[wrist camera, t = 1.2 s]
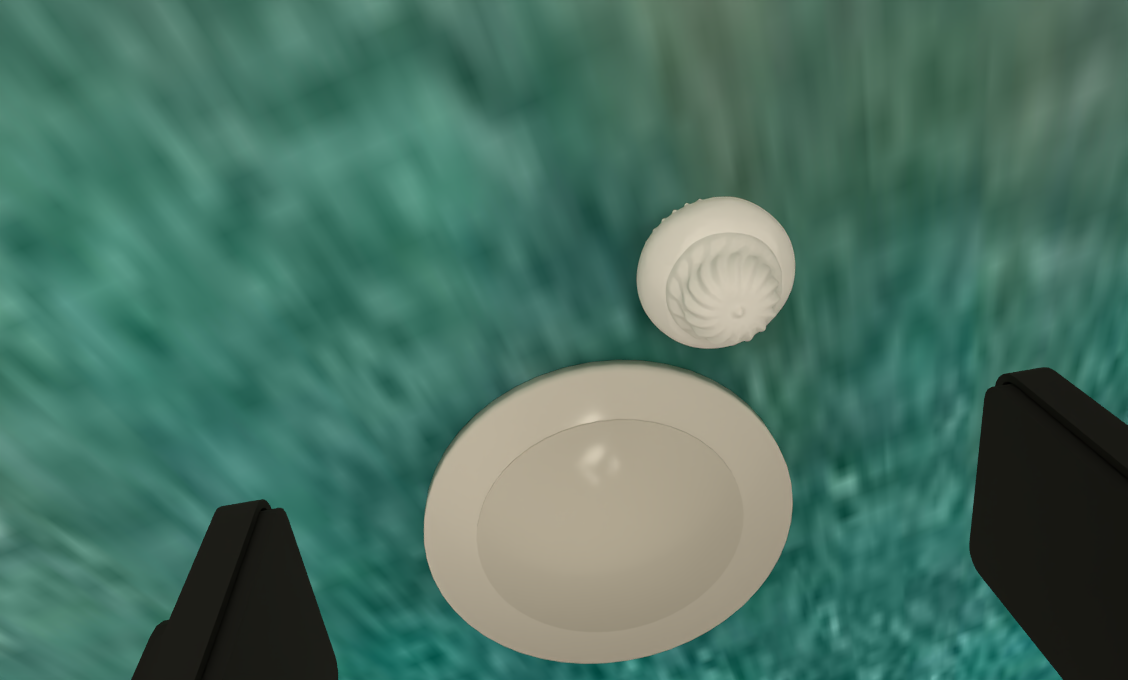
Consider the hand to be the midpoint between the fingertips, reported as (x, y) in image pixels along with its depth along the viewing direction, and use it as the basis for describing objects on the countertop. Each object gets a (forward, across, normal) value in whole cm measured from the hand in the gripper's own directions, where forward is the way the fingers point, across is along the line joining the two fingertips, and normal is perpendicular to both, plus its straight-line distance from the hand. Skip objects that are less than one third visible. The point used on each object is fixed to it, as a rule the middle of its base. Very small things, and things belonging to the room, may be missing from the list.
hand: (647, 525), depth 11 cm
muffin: (+25, -6, +6) cm, 26 cm away
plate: (+25, -1, +20) cm, 32 cm away
